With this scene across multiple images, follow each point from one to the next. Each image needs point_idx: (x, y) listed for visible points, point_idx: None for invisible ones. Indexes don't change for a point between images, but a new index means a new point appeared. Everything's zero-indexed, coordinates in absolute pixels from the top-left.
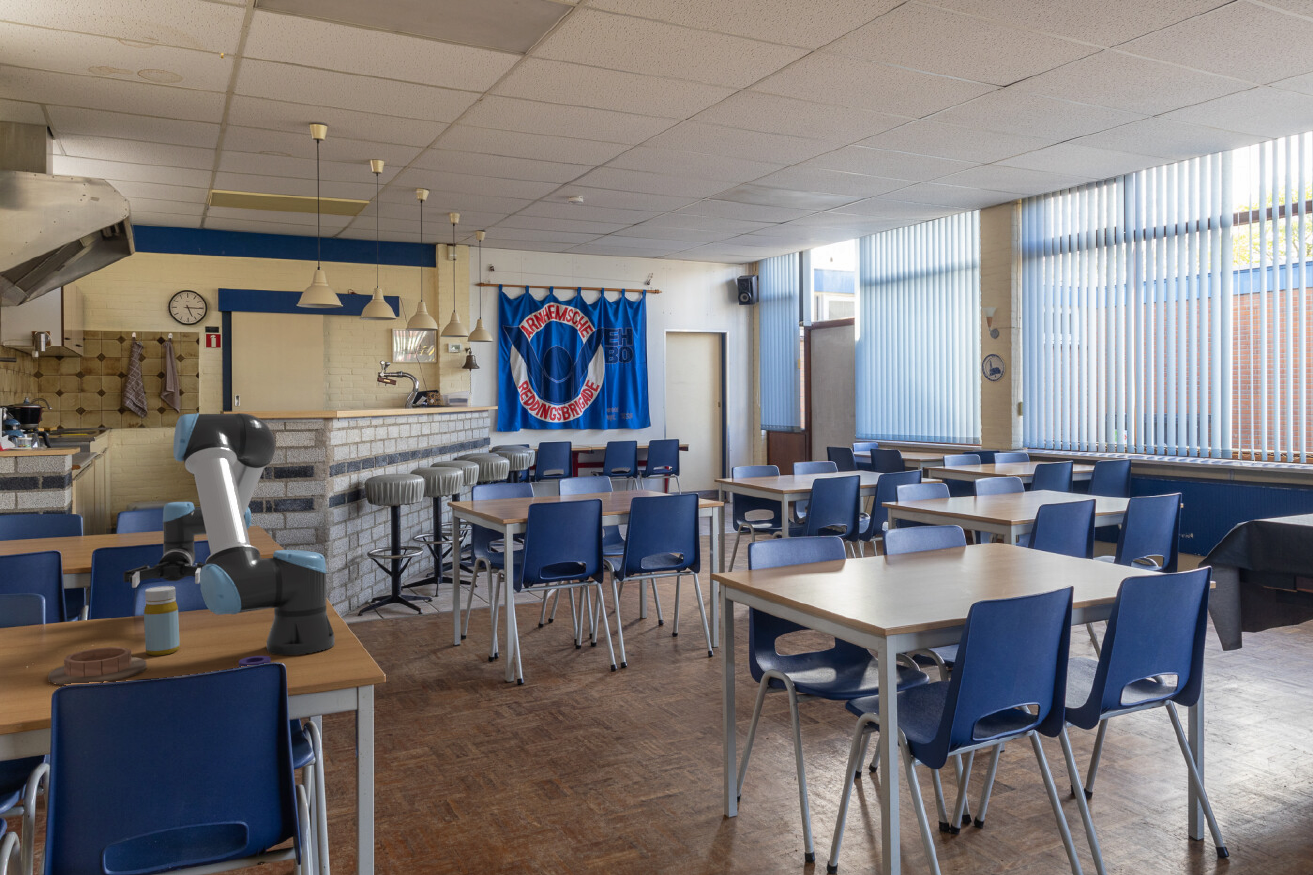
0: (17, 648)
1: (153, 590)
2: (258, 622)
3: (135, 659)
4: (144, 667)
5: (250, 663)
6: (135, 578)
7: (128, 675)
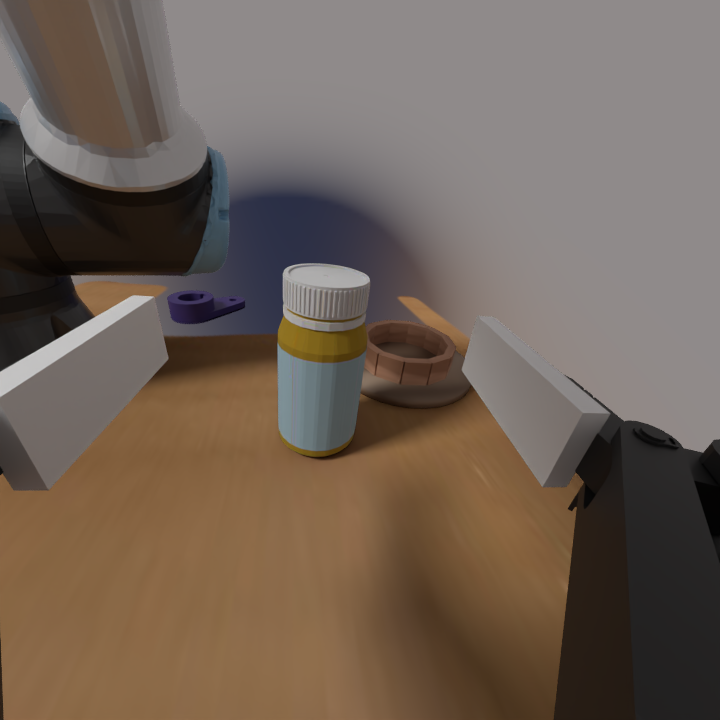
0: None
1: (345, 275)
2: None
3: None
4: None
5: (202, 292)
6: (475, 326)
7: None
